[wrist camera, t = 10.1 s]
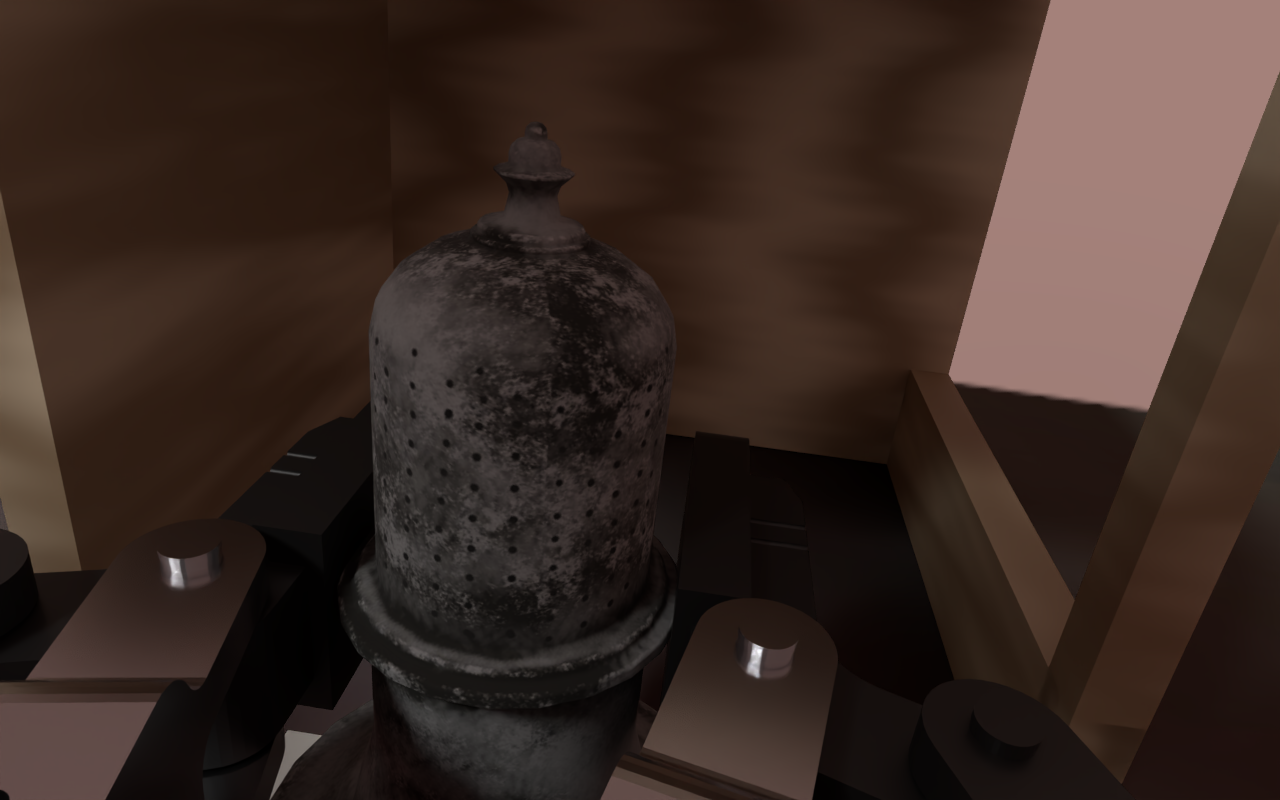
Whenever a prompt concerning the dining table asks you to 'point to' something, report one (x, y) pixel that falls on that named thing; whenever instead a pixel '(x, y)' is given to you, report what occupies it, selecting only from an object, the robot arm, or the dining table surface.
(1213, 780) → the dining table surface
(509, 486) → the salt shaker
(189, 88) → the hutch
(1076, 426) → the dining table surface
